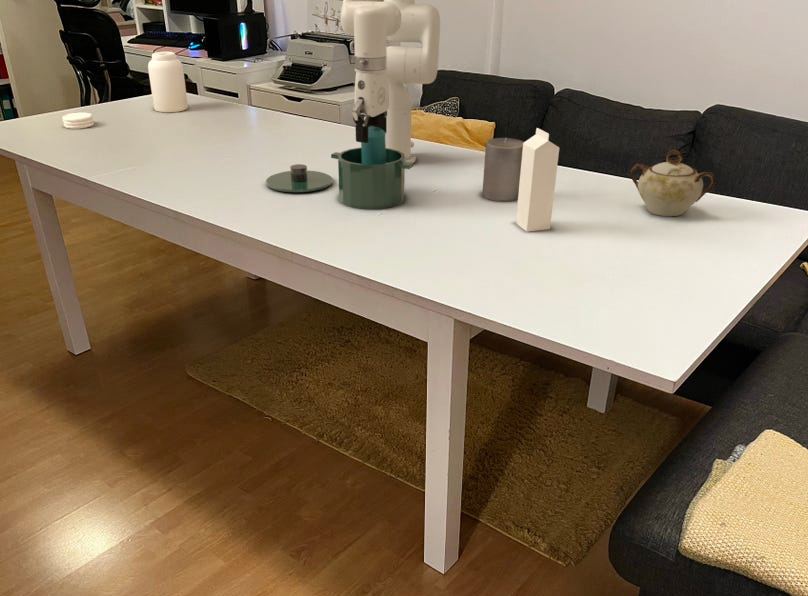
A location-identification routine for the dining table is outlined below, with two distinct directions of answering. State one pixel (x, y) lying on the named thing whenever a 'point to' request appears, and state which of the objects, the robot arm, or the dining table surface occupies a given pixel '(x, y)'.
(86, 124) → the white flat round stack
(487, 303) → the dining table surface
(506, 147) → the pillar candle
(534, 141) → the milk
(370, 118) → the beverage bottle
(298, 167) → the lid
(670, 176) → the sugar bowl
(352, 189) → the pot
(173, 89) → the white jar
